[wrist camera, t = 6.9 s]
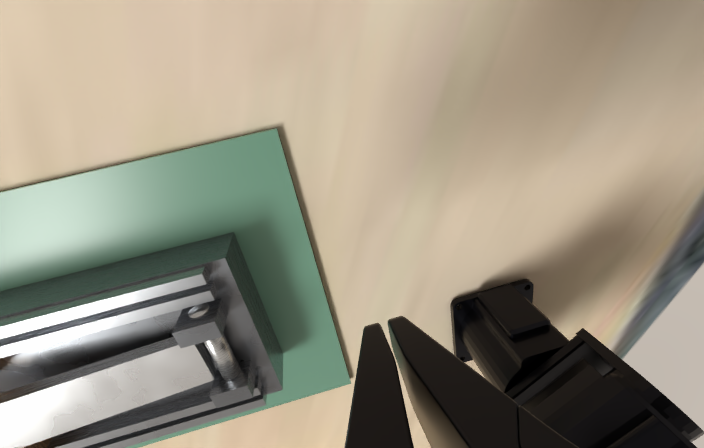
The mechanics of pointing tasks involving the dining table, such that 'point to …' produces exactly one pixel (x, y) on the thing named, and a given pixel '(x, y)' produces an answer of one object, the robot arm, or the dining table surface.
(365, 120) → the dining table surface
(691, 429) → the robot arm
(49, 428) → the grey flat long bar
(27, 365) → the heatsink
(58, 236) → the board
